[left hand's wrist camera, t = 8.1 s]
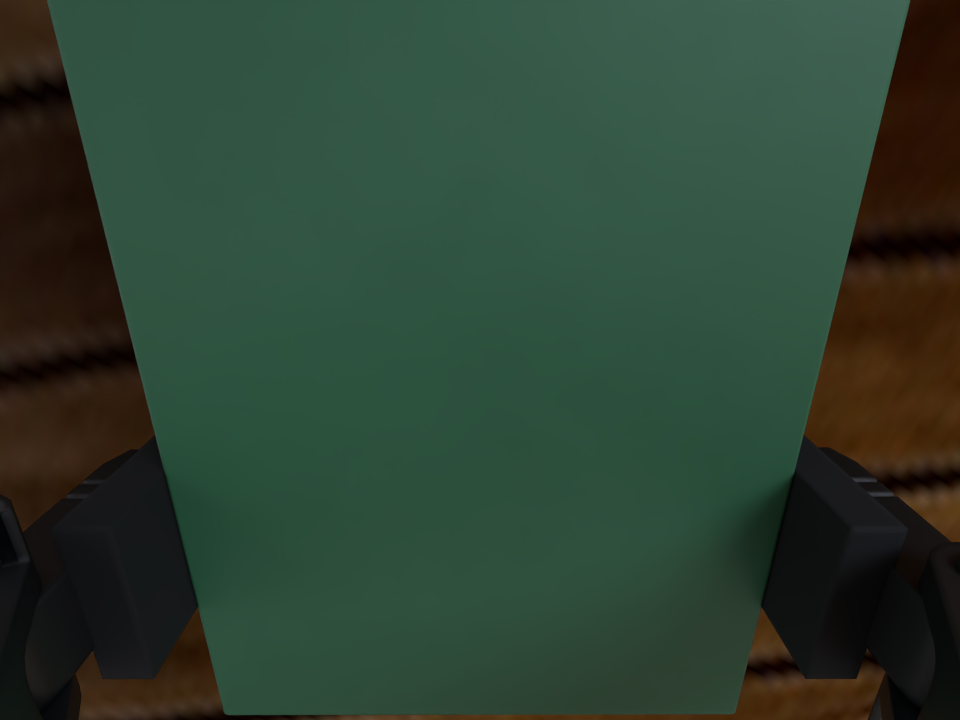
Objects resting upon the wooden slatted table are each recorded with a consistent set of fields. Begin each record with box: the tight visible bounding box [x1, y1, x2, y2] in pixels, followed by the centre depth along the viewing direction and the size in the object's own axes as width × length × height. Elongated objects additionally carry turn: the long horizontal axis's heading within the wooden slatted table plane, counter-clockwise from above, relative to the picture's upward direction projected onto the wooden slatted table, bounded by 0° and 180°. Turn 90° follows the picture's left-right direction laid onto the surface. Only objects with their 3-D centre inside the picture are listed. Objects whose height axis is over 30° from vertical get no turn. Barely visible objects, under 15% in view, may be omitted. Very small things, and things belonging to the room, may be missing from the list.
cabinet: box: [47, 0, 910, 715], centre depth 12 cm, size 14×10×10 cm
